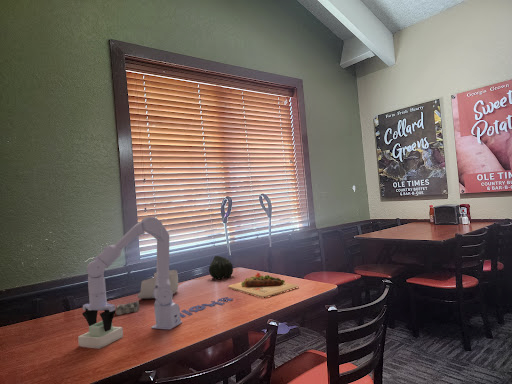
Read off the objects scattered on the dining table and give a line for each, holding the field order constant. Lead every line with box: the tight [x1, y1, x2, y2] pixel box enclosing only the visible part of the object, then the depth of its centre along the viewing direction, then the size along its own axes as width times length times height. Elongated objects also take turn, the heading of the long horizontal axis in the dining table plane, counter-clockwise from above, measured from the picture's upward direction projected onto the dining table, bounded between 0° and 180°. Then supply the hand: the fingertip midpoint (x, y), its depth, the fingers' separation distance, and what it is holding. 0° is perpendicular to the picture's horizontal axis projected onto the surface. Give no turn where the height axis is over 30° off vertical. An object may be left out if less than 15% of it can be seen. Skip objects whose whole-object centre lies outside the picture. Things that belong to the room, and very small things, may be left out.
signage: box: [180, 296, 234, 318], centre depth 155 cm, size 28×1×10 cm
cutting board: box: [228, 272, 299, 298], centre depth 179 cm, size 35×23×8 cm
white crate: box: [77, 326, 124, 350], centre depth 124 cm, size 11×11×4 cm
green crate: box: [88, 320, 114, 338], centre depth 125 cm, size 5×6×6 cm
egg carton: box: [115, 300, 140, 316], centre depth 160 cm, size 11×8×4 cm
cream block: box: [137, 269, 179, 300], centre depth 185 cm, size 20×19×12 cm
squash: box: [208, 255, 234, 280], centre depth 214 cm, size 14×15×15 cm
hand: (100, 329), depth 124 cm, fingers open, 7 cm apart
